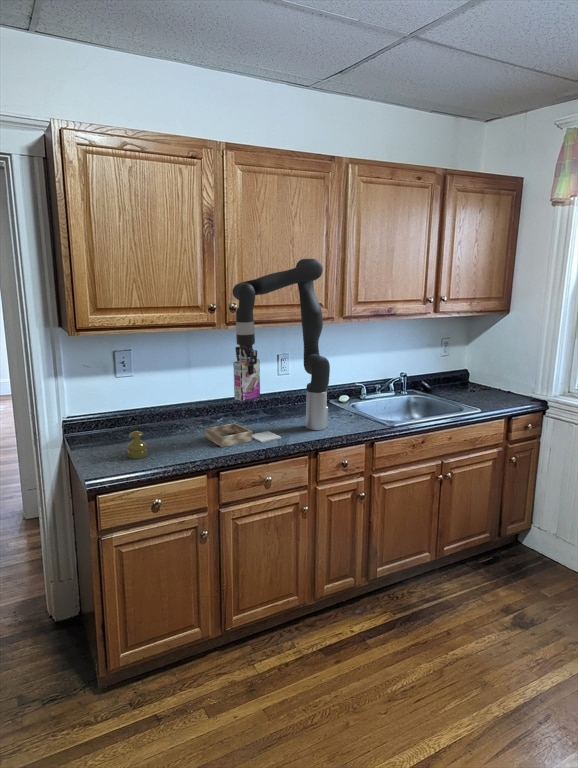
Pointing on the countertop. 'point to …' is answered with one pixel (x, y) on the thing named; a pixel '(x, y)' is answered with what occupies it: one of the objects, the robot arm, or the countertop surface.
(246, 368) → the candy bar box
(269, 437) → the mat
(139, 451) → the brass calibration weight
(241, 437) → the wooden square frame
